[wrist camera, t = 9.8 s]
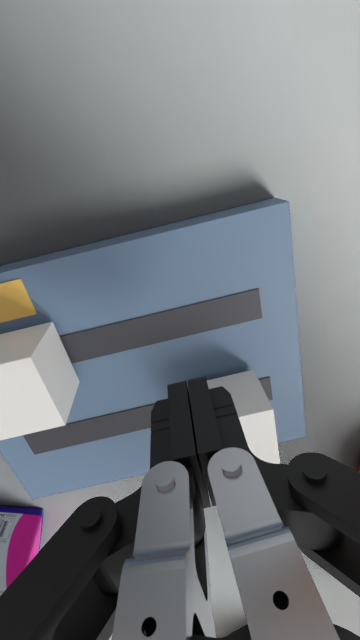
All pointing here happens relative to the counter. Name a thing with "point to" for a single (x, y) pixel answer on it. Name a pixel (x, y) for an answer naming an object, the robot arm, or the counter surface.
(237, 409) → the far tab
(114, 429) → the switch panel
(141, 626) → the robot arm
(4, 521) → the supplement box
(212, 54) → the counter surface
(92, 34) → the counter surface
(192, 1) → the counter surface
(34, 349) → the near tab
